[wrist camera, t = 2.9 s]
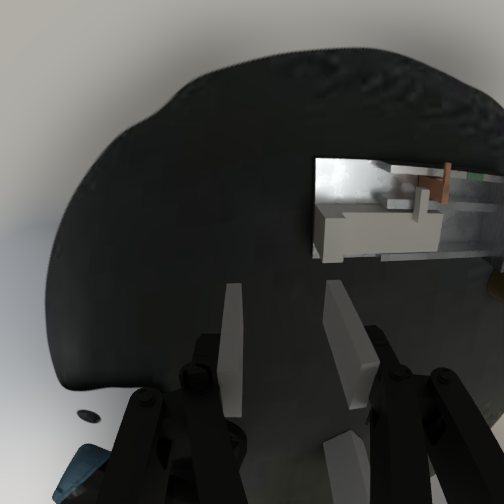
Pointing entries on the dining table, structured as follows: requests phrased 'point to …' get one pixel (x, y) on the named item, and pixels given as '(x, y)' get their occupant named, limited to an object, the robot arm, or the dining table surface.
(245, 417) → the dining table surface
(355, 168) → the gauge housing
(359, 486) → the milk
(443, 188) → the brown l-shaped block
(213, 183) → the dining table surface
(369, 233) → the plunger
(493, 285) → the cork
